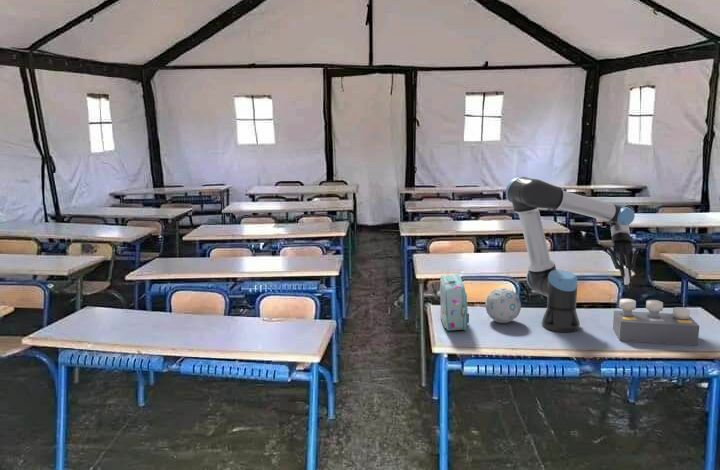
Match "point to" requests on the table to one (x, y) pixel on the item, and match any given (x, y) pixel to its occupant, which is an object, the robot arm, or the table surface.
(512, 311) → the puzzle ball
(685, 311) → the button right
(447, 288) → the lunch box
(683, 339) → the console
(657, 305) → the button middle
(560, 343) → the table surface
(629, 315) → the button left
